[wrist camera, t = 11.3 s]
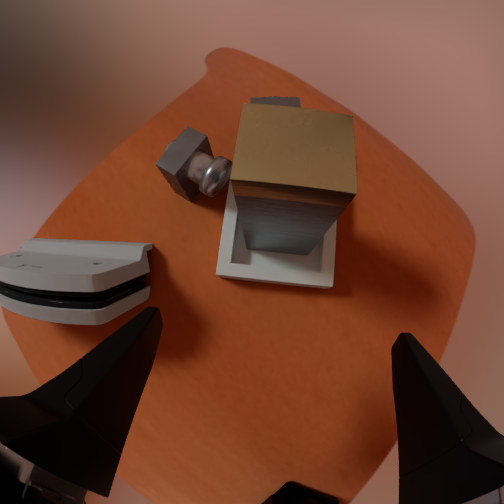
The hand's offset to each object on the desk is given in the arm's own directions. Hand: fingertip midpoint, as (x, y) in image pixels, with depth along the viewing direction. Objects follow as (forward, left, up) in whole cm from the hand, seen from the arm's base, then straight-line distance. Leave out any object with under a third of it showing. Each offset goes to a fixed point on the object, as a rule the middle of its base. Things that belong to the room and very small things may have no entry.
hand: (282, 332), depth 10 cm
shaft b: (+11, -7, -14) cm, 19 cm away
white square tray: (+3, -7, -14) cm, 16 cm away
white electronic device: (+17, +8, -14) cm, 24 cm away
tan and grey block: (+3, -7, -13) cm, 15 cm away
